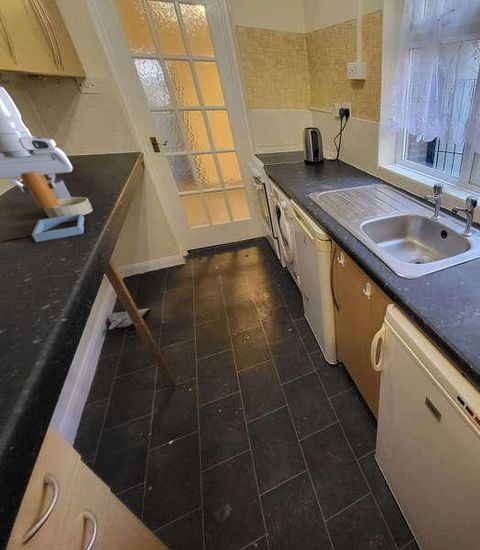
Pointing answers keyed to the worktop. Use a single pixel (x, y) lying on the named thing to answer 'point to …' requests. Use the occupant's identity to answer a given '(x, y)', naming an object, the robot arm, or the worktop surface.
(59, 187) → the cup
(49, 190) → the orange capped cylinder
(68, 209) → the bowl
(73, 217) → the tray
